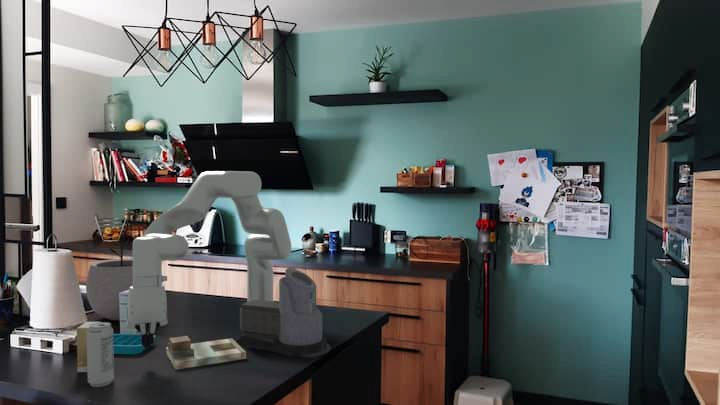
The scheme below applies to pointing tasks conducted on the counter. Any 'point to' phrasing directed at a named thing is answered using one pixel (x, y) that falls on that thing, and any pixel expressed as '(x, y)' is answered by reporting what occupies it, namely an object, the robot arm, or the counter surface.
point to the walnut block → (179, 344)
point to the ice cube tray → (127, 344)
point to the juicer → (285, 320)
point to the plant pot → (109, 284)
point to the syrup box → (125, 314)
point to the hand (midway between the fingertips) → (147, 347)
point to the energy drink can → (100, 354)
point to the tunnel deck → (207, 353)
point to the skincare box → (82, 346)
